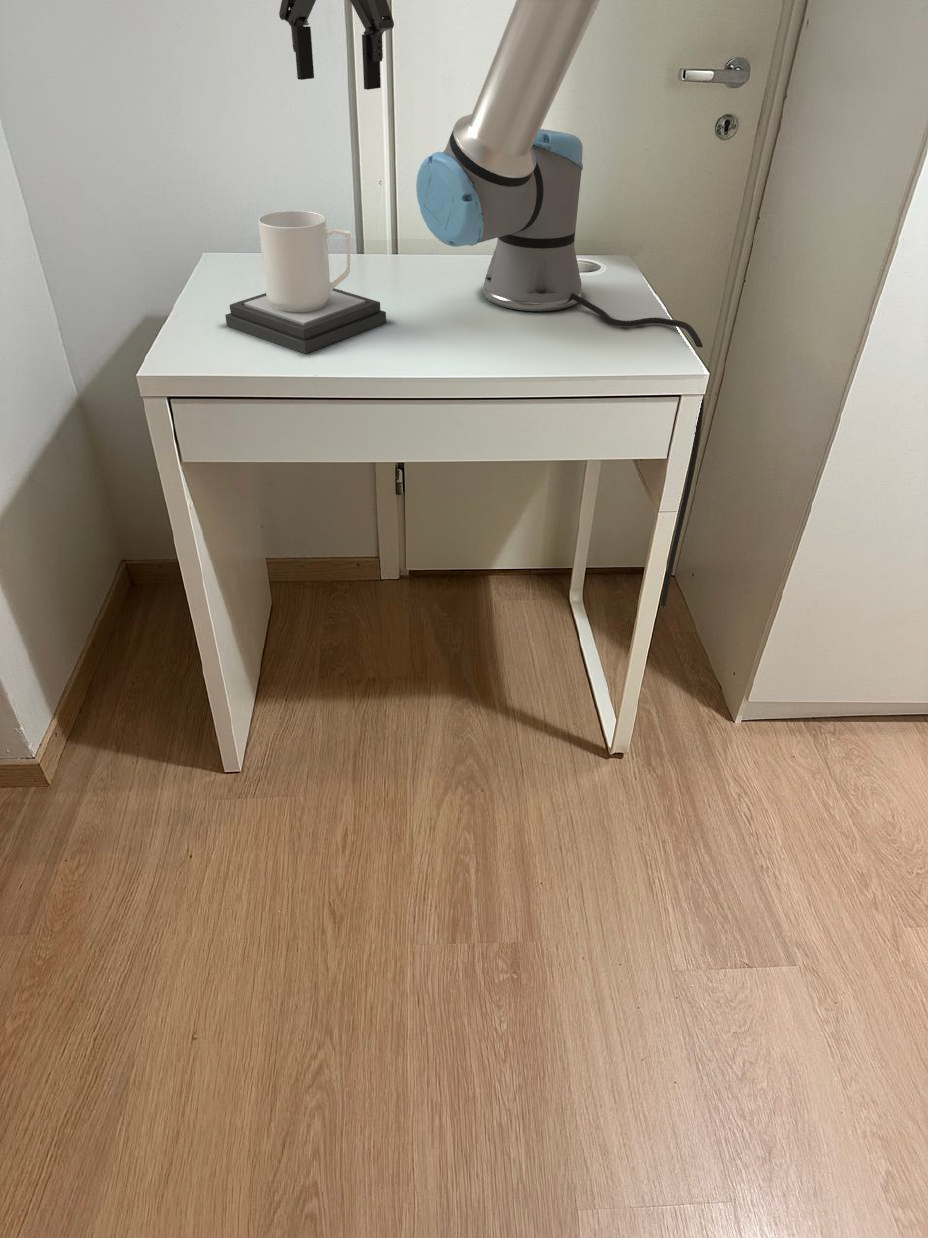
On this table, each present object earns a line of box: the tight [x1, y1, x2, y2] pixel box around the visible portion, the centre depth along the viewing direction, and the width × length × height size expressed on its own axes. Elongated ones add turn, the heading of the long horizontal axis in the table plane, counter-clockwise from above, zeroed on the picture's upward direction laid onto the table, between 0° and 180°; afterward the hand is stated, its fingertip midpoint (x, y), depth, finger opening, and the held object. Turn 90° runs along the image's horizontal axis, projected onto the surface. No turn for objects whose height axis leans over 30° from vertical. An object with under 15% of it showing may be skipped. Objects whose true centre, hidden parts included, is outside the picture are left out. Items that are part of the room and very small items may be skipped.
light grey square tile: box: [244, 291, 366, 326], centre depth 124 cm, size 12×12×1 cm
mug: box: [257, 210, 351, 312], centre depth 120 cm, size 12×9×11 cm
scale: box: [224, 287, 387, 355], centre depth 125 cm, size 16×16×3 cm
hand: (338, 83), depth 129 cm, fingers open, 13 cm apart
